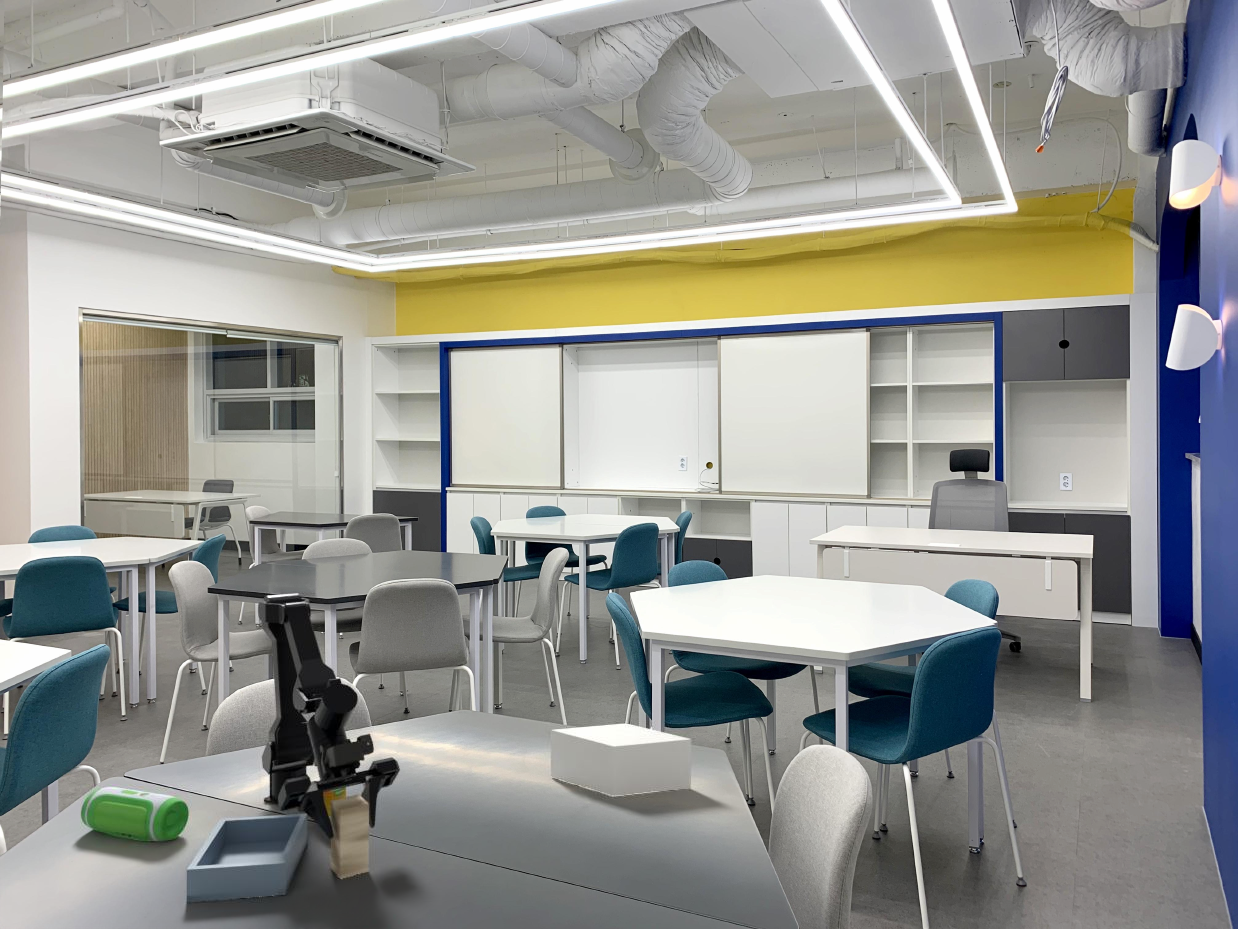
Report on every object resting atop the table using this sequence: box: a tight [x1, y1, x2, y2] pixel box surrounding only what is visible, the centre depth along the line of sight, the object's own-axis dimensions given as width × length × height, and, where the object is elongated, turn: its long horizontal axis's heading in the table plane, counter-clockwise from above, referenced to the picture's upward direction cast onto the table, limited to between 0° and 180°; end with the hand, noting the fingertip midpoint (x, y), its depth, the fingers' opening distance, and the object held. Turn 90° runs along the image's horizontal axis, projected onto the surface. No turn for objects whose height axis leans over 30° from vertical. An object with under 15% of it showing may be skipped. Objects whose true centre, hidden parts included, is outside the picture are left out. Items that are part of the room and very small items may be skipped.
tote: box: [186, 813, 308, 904], centre depth 140 cm, size 18×14×5 cm
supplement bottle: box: [315, 778, 347, 825], centre depth 159 cm, size 5×5×10 cm
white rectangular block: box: [550, 723, 692, 795], centre depth 178 cm, size 14×29×10 cm, turn 80°
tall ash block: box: [330, 794, 370, 880], centre depth 141 cm, size 5×5×11 cm
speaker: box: [80, 786, 190, 842], centre depth 153 cm, size 18×7×8 cm, turn 73°
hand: (352, 832), depth 140 cm, fingers open, 6 cm apart
